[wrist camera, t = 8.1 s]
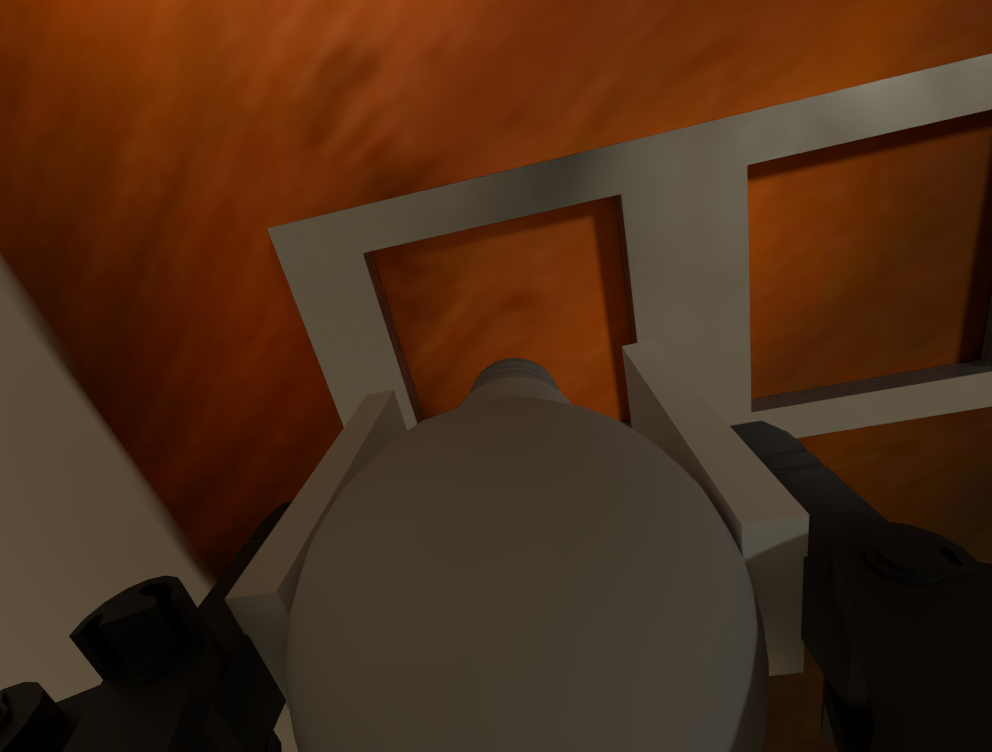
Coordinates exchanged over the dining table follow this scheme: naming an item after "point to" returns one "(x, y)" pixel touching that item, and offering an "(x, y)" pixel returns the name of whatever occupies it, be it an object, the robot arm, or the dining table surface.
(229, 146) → the dining table surface
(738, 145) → the grey window frame
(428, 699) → the lightbulb
